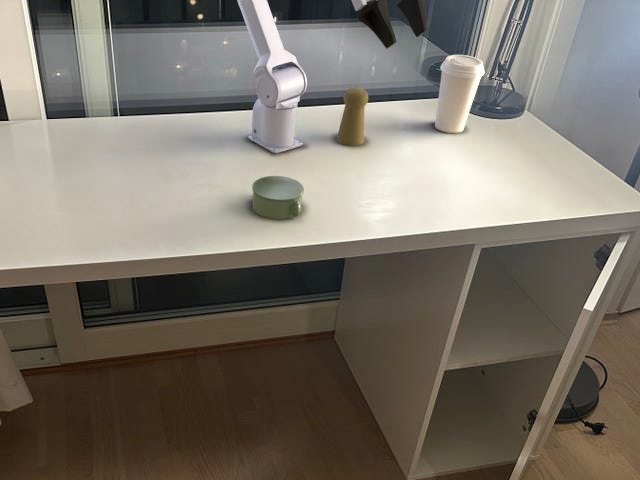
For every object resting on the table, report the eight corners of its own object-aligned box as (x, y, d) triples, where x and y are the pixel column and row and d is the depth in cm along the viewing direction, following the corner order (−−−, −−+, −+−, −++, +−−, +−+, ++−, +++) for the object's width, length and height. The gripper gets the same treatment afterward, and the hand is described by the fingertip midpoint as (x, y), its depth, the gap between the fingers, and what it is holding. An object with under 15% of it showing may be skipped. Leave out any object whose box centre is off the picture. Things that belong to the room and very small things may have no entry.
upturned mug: (241, 203, 131) (241, 183, 128) (280, 190, 135) (281, 171, 133) (276, 227, 125) (278, 207, 122) (316, 213, 129) (318, 193, 127)
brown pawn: (362, 147, 153) (370, 96, 145) (335, 143, 153) (341, 93, 146) (365, 136, 157) (372, 86, 150) (338, 133, 158) (344, 83, 151)
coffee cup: (423, 119, 166) (436, 53, 157) (462, 119, 167) (477, 53, 158) (435, 135, 159) (450, 67, 149) (475, 135, 160) (493, 67, 150)
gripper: (358, -44, 111) (392, 39, 113) (419, -61, 117) (451, 17, 119) (333, -19, 117) (366, 59, 119) (393, -37, 124) (423, 37, 126)
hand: (406, 39), depth 120 cm, fingers open, 7 cm apart
